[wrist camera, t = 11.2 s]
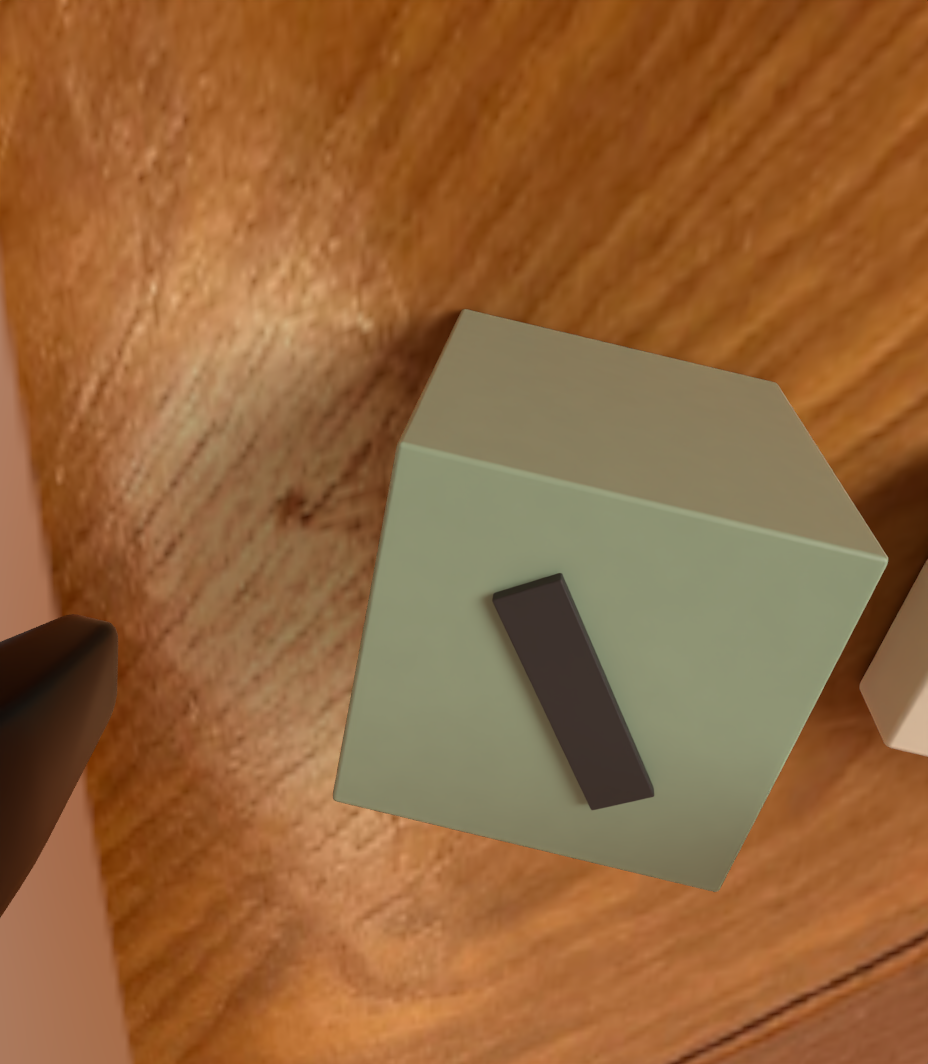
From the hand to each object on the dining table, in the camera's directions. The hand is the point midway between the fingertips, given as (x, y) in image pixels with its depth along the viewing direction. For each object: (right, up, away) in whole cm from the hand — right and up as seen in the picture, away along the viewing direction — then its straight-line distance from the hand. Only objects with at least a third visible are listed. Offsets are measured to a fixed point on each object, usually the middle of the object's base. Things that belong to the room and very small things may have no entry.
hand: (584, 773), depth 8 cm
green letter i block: (+1, +3, +5) cm, 6 cm away
